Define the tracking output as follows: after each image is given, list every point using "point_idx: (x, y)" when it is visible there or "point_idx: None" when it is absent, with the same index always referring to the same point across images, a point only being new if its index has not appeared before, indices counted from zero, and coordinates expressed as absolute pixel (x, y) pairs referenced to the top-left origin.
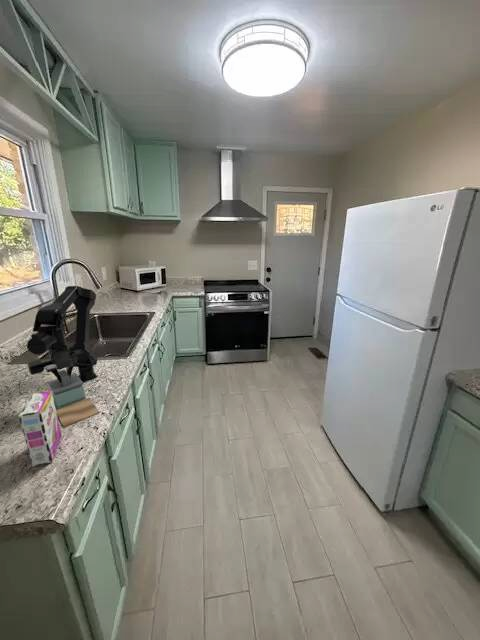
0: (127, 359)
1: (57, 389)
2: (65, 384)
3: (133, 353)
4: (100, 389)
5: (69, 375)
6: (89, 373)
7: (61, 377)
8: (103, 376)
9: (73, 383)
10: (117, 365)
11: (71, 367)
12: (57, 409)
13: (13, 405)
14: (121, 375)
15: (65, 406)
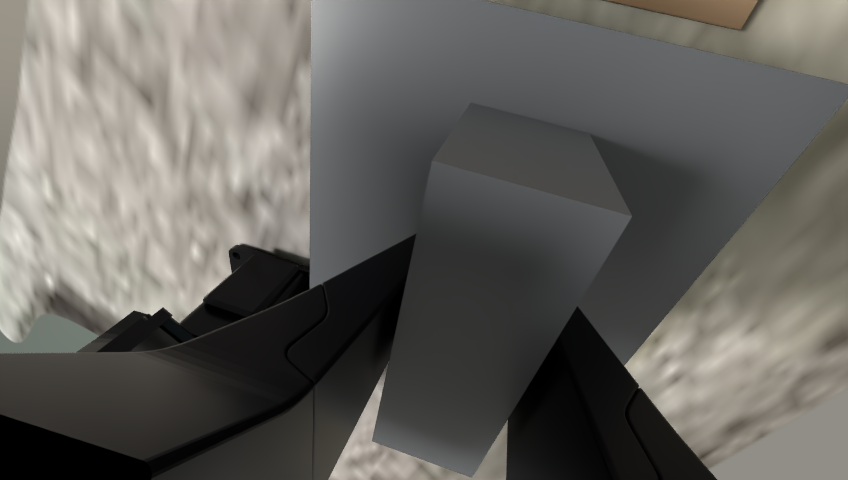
0: (54, 268)
1: (710, 141)
2: (560, 132)
3: (26, 293)
4: (259, 42)
5: (394, 265)
6: (244, 285)
7: (593, 272)
8: (202, 218)
9: (432, 104)
10: (110, 260)
11: (213, 368)
12: (721, 18)
13: (750, 402)
14: (84, 112)
15: (634, 1)
